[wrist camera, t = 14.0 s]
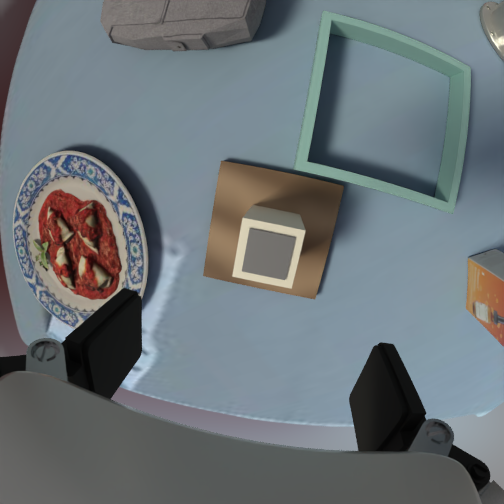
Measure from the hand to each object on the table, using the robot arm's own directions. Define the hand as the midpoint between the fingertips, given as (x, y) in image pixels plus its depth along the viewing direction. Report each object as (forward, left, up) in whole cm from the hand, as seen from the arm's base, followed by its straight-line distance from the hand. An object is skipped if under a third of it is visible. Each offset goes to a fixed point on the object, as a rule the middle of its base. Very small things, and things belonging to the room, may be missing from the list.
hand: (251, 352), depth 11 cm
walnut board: (0, 0, -22) cm, 22 cm away
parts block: (0, 0, -21) cm, 21 cm away
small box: (0, +30, -23) cm, 38 cm away
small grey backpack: (-25, -15, -23) cm, 37 cm away
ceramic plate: (+7, -26, -23) cm, 35 cm away
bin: (-16, +10, -22) cm, 29 cm away
